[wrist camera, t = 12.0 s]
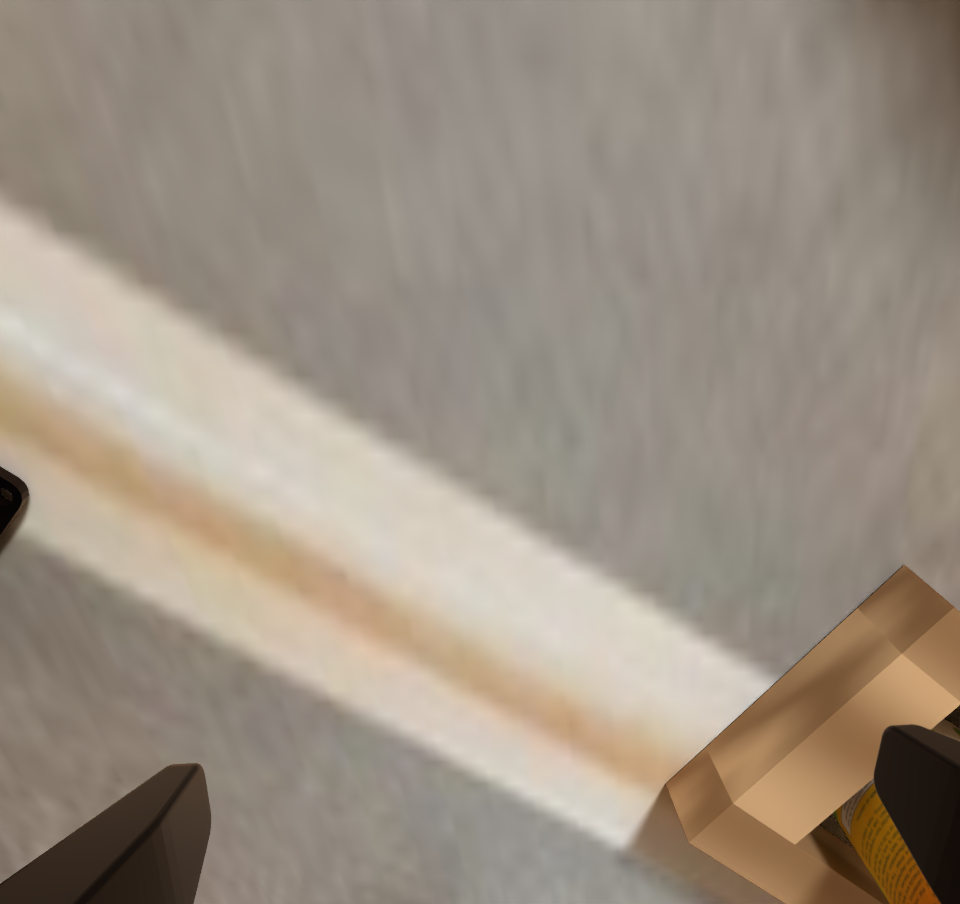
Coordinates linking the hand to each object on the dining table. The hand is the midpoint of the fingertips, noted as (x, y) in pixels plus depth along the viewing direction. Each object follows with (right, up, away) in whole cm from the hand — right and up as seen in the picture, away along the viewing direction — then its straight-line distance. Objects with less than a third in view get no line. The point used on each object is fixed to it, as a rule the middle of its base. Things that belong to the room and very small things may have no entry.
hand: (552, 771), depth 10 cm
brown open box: (+14, -7, +18) cm, 24 cm away
